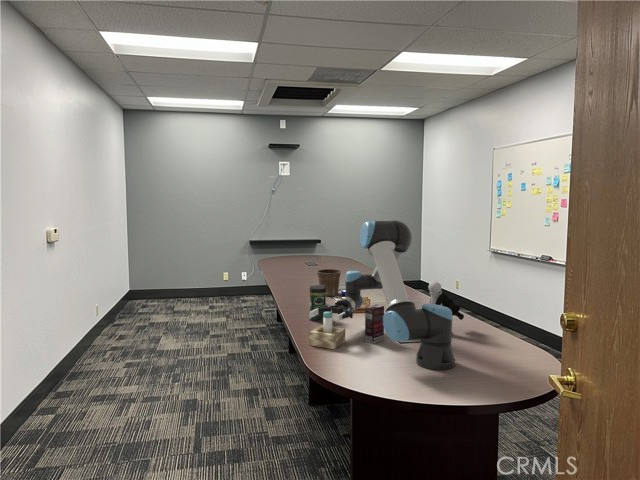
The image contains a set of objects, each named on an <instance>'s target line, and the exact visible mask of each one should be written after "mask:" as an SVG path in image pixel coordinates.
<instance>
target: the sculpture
mask: <svg viewBox="0 0 640 480" xmlns="http://www.w3.org/2000/svg"><path fill="white" fill-rule="evenodd" d="M428 291H429V293H430V297H429V303H428V304H436V305H441V306H445V307H447V308H449V309H450V310H451V311H452V317H453V316H455V317H457V318H458V319H459V320H462V321H463V319H465V315H464V314H463V313H461V312H460V309H461V305H460V304H459V303H456V302H455V301H454V299H453V297H452V296H448V295H447V293H446V292H445V291H443V290H442V284H441V283H440V282H438V281H431V282H430V283H429V284H428Z"/></svg>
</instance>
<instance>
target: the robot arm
mask: <svg viewBox="0 0 640 480" xmlns="http://www.w3.org/2000/svg"><path fill="white" fill-rule="evenodd" d="M412 235H413V234H412V231H411V229H410V227H409V226H408V225H407V224H405V222H402V221H400V220H368V221H365V222H364V223H363V225H362V226H361V229H360V235H359V239H360V240H359V243H360V246H361V248H363V249H367V252H368V254H369V255H370V256H372V257H373V259H374V263H375V268H374V270H373V272H372V274H362V273H361V271H359V270H348V271H347V272H346V273H345V280H344V281H345V288H344V289H345V296H344V297H343V298H340V299H338V300H337V301H336V302H335V303H334V304H332V305H330V304H327V303H326V305H324V306H318V307H313V310H312V311H310V317H311V318H312V317H314V316H316V315H318V314H319V313H323V312H332V314H334V315H335V314H337V322H341V321H342V320H345V319H348V318H350V319H353V318H354V311H355V310H358V309H360V308H361V307H362V306H363V304H364V299H363V296H362V295H361V293H362V292H361V291H365V290H381V289H382V290H383V293H384V297H385V301H386V304H387V306H386V308H385V309H384V316H383V322H384V323H383V326H384V333H385V334H386V335H387V337H388V338H389V339H390V340H391V341H393V342H398V343H399V342H403V343H405V342H409V341H411V342H412V341H418V340H419V341H420V345H419V347H418V350H417V353H416V356H415V362H416V364H417V365H418V366H421V367H422V368H425V369H429V370H436V371H444V370H450V369H451V370H452V369H453V368H455V366H456V357H455V354H454V350H453V346H452V337H453V336H452V335H453V334H452V333H453V320H454V319H453V316H452V311H451V310H450V309H449V308H447V307H445V306H441V305H436V304H430V303H423V304H422V305H421V308H416V305H415V303H414V301H412V300H410V299H409V296H408V293H407V288H406V287H405V283H404V281H403V276H402V274H401V271H400V268H399V265H398V262H399V260H400V259H401V257H402V255H403V253H407V251H408V249H409V248H410V246H411V244H412V241H413V240H412V239H413V237H412Z"/></svg>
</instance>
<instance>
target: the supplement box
mask: <svg viewBox="0 0 640 480" xmlns="http://www.w3.org/2000/svg"><path fill="white" fill-rule="evenodd" d="M364 309H365V311H364V314H365V316H364V317H365V322H364V329H365V330H364V331H365V332H364V341H365V342H367V343H370V344H374V343H377V342H380V341H383V340H385V329H384V326H383V323H384V322H383V316H384V314H385V305H383V304H382V305H381V304H374V305H370V306H366V307H365V308H364Z"/></svg>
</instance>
